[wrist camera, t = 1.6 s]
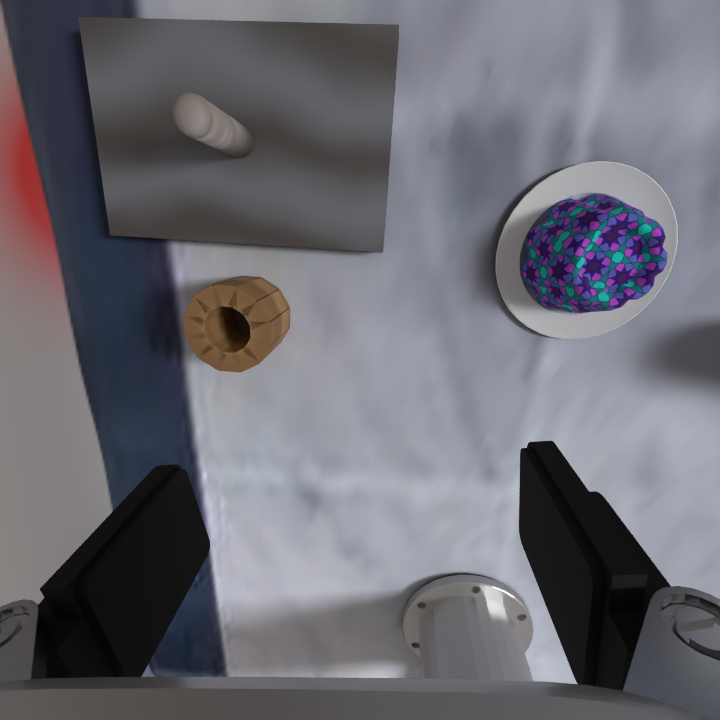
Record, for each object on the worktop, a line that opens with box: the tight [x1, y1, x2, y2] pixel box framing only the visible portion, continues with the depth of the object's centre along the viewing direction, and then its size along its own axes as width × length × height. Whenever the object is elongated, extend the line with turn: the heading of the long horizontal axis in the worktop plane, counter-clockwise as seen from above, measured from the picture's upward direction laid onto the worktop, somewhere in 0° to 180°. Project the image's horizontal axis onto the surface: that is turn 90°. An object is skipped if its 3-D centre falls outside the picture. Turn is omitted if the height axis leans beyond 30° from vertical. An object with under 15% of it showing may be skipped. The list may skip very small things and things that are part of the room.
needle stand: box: [78, 17, 399, 252], centre depth 23 cm, size 13×20×8 cm, turn 87°
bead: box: [184, 276, 290, 372], centre depth 29 cm, size 6×6×5 cm
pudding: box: [495, 161, 678, 339], centre depth 25 cm, size 12×12×5 cm
